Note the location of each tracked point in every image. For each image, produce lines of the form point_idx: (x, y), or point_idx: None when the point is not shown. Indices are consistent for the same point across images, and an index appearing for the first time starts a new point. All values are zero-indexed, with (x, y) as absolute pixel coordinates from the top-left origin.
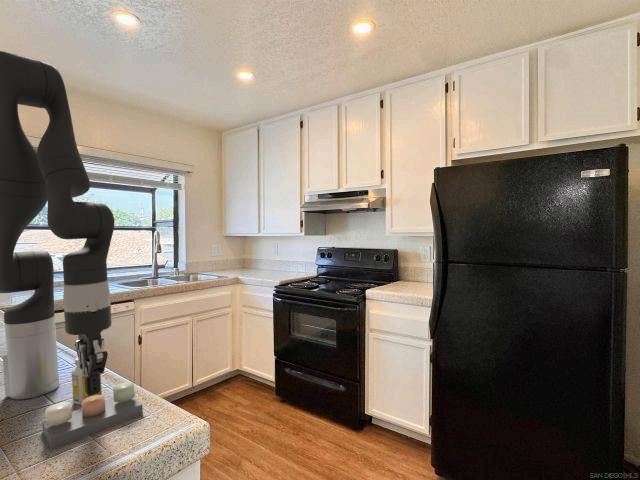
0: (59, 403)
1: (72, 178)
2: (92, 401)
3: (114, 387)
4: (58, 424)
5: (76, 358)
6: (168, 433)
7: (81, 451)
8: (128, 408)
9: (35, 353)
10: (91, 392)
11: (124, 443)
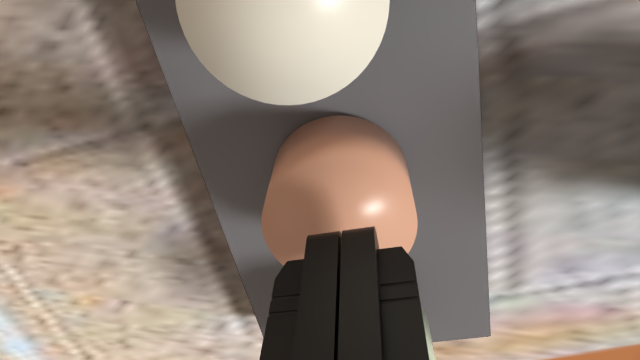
0: (379, 11)
1: None
2: (302, 222)
3: None
4: None
5: None
6: (43, 351)
7: (38, 67)
8: (265, 310)
9: None
10: (284, 272)
11: (33, 228)
